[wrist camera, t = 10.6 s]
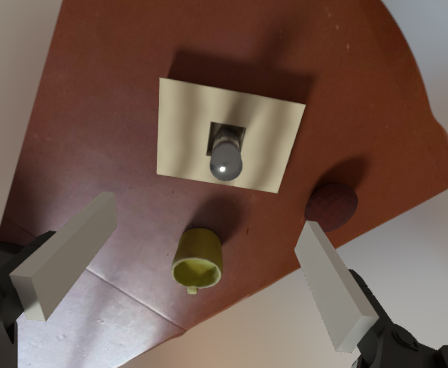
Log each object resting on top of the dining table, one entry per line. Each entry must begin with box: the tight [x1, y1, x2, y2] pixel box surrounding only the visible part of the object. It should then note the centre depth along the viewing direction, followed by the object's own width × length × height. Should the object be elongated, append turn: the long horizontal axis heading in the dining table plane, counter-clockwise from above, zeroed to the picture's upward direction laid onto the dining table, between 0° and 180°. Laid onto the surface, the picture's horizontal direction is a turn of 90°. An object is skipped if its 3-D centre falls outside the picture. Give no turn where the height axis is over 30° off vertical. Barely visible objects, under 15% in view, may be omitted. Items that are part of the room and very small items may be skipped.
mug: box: [171, 228, 223, 294], centre depth 42 cm, size 12×10×10 cm
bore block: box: [157, 78, 306, 193], centre depth 33 cm, size 20×14×4 cm
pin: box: [210, 128, 243, 181], centre depth 28 cm, size 4×4×12 cm
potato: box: [305, 184, 358, 232], centre depth 37 cm, size 7×10×6 cm
